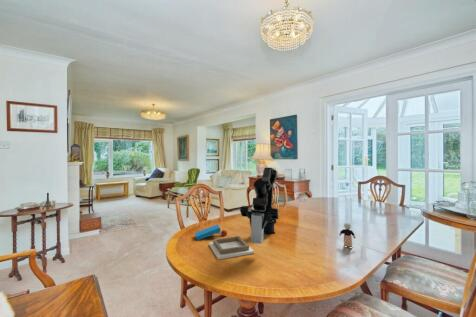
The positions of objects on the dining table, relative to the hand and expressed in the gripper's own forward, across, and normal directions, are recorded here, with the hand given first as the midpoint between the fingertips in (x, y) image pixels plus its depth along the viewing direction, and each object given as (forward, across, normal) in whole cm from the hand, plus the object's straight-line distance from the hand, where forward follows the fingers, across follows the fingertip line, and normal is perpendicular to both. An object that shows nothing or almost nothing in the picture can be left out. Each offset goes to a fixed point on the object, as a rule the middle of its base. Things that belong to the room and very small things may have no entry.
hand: (256, 228), depth 106 cm
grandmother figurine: (-8, +43, +27) cm, 51 cm away
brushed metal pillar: (+4, 0, +6) cm, 7 cm away
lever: (-3, -31, +23) cm, 39 cm away
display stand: (+6, -15, +13) cm, 21 cm away
